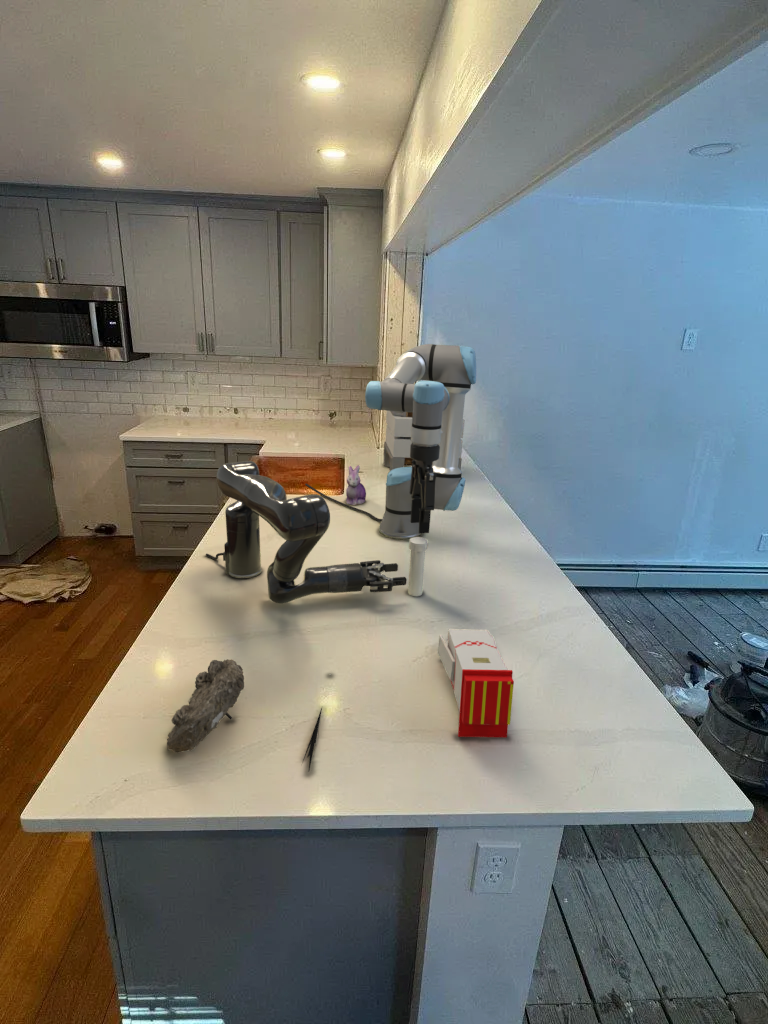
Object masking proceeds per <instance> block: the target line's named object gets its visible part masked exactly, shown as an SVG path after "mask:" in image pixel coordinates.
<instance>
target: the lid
mask: <svg viewBox="0 0 768 1024" xmlns="http://www.w3.org/2000/svg"><path fill="white" fill-rule="evenodd" d="M408 541H409V542H408V543H409V544H408V549H409V550H410V551H414V552H424V551H425V552H426V551H428V546H429V543H428V539H427V538H425V537H421V536H420V537H413V538H411V539H410V540H408Z"/></svg>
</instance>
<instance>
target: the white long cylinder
mask: <svg viewBox="0 0 768 1024" xmlns="http://www.w3.org/2000/svg"><path fill="white" fill-rule="evenodd" d="M409 553H410V554H409V569H408V585H407V594H408V595H409V596H412V597H420V596H422V595H423V591H424V590H423V589H424V577H425V563H426V561H425V559H426V551H424V552H414V551H411V550H410V552H409Z"/></svg>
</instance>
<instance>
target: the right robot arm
mask: <svg viewBox="0 0 768 1024" xmlns="http://www.w3.org/2000/svg"><path fill="white" fill-rule="evenodd" d="M476 383H477V357H476V351H475V349H474V348H473V347H471V346H466V345H465V346H464V345H461V344H460V345H455V344H454V345H452V344H434V343H425V344H424V343H423V344H419V345H417V346H413V347H411V348H410V349H408V350H406V351H404V352H403V353H402V354H401V355H400V356H399V357H398V358H397V360H396V363H395V366H394V367H393V369H392V370H391V371H390V372H389V373H388V374H387V375H386V377H385V378H384V379H383V380H382V381H380V380H370V381H369V382H368V383H367V385H366V388H365V396H364V398H365V399H364V400H365V405H366V407H367V408H368V409H371V410H378V411H386V412H387V411H400V412H412V413H413V416H412V426H411V442H412V444H411V446H410V457H411V458H412V459H413V460H412V466H404V467H401V468H396V469H393V470H391V471H390V470H389V472H388V473H387V475H386V482H385V504H384V505H385V507H384V508H385V509H384V513H383V515H382V518H378V517H376V516H375V515H373V514H372V513H370V512H369V511H365V510H363V509H360V508H358V507H355V506H353V505H350V504H347V503H345V502H342V501H339V500H337V499H335V498H332V497H330V496H328V495H326V494H324V493H322V491H321V492H320V491H319V490H317V488H314V487H313V486H312V485H310V484H309V483H307V482H306V483H305V484H304V485H305V486H306V487H307V488H309V489H310V490H312V491H313V492H315V493H316V494H317V495H320V496H321V497H323V498H324V499H327V500H330V501H331V502H333V503H335V504H338V505H340V506H343V507H345V508H348V509H350V510H353V511H356V512H359V513H362V514H364V515H367V516H369V517H370V518H372V519H373V520H374V521H377V522H379V526H378V533H379V534H380V535H381V536H382V537H385V538H387V539H389V540H395V541H410V539H411V538H413V537H421V536H422V535H423V534H430V527H431V513H432V511H435V510H440V511H443V512H445V511H447V512H449V511H451V512H455V511H457V510H458V509H459V508H460V504H461V501H462V498H463V494H464V490H465V485H466V478H465V477H463V476H462V475H463V472H462V469H461V470H460V469H459V468H458V461H459V451H460V442H461V440H462V438H461V432H462V422H463V419H464V412H465V411H464V410H465V401H466V395H467V394H468V393H469V392H470V391H471V389H472V385H473V386H474V385H476ZM432 462H433V464H432Z"/></svg>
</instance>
